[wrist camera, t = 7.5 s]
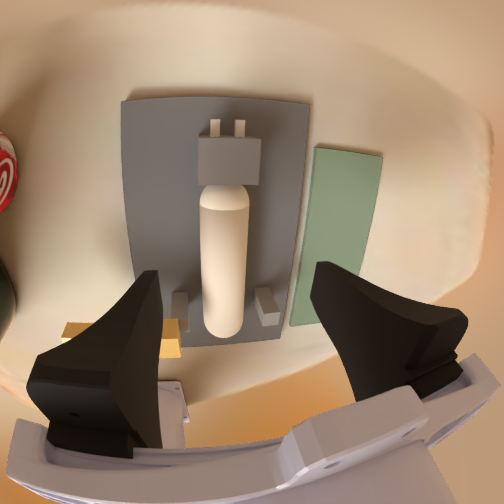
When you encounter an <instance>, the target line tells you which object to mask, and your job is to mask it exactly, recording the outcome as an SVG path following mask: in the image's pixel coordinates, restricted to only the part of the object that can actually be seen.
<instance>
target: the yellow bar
mask: <svg viewBox="0 0 504 504" xmlns="http://www.w3.org/2000/svg"><path fill="white" fill-rule="evenodd" d="M92 324H94V323H69V322H67V324H66V327H65V329H64V332H63V334H62V336H61V339H62V341H63V343H65V342H67V341H68V340H70V339H72V338H73V337H75V336H77V335H78V334H80V333H81V332H83V331H84V330H85V329H87V328H88V327H89V326H91V325H92ZM159 358H181V336H180V329H179V323H178V319H163V331H162V339H161V347H160V355H159Z"/></svg>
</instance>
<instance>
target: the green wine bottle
mask: <svg viewBox="0 0 504 504" xmlns="http://www.w3.org/2000/svg"><path fill="white" fill-rule="evenodd" d="M15 311H16V301H15V294H14V290H13V287H12V284H11V281H10V279H9V277H8V275H7V272H6V270H5V269H4V267H3V265H2V264H1V262H0V343H1V341H2V339H3V338H4V336H5V334H6V332H7V331H8V329H9V327H10V325H11V323H12V321H13V319H14V316H15Z"/></svg>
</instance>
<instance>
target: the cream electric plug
mask: <svg viewBox="0 0 504 504" xmlns="http://www.w3.org/2000/svg"><path fill="white" fill-rule="evenodd" d="M260 154H261V139H258V138H255V137H252V136H245V120H235V132H234V135H220V119H211V121H210V135H198V165H197V175H198V185H207V186H206V187H205V188H204V190H203V191H202V194H201V197H200V252H201V278H202V298H203V315H204V323H205V326H206V328H207V330H208V331H209V332H210V333H211V334H213V335H214V336H216V337H219V338H228V337H231V336H233V335H235V334H236V333H237V332H238V331H239V330H240V328H241V326H242V323H243V313H244V294H245V275H246V256H247V238H248V220H249V196H248V193H247V191H246V189H245V188H244V187H243V185H258V184H259V169H260Z"/></svg>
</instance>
